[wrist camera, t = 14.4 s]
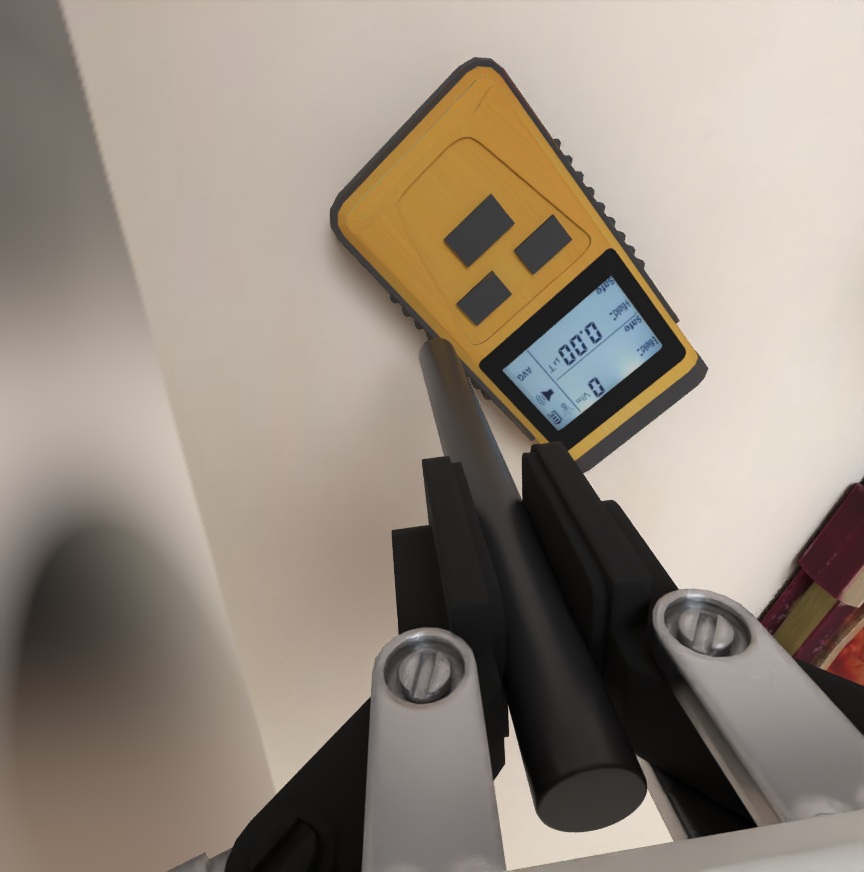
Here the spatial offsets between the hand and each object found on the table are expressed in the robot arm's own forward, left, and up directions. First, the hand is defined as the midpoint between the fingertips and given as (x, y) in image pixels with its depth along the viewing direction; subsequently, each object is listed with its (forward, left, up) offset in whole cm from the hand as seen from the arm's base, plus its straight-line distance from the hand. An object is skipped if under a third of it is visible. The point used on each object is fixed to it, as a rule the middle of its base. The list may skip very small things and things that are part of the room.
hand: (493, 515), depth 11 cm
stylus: (0, 0, -11) cm, 11 cm away
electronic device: (+3, +3, -15) cm, 16 cm away
